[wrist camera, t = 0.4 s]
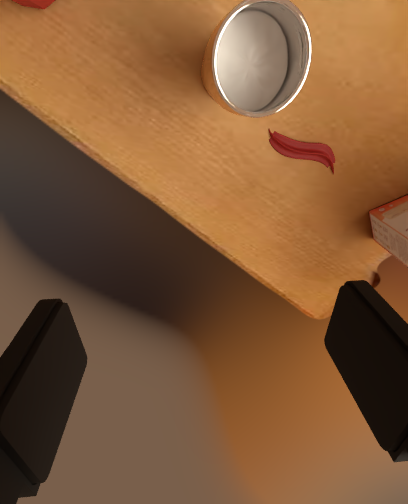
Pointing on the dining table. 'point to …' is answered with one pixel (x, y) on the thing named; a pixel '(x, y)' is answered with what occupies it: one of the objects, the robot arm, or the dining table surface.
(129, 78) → the dining table surface
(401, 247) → the cracker box
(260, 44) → the beer glass
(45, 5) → the beverage can
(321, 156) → the cayenne pepper
